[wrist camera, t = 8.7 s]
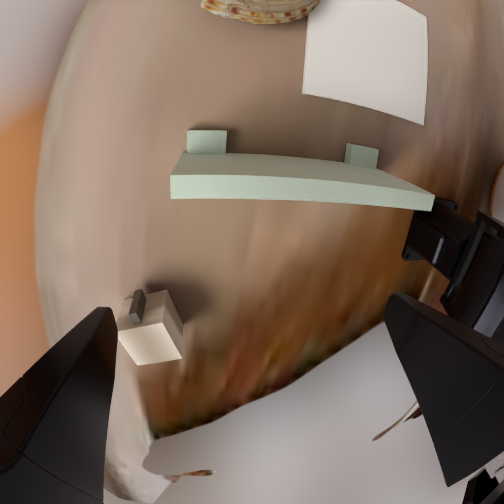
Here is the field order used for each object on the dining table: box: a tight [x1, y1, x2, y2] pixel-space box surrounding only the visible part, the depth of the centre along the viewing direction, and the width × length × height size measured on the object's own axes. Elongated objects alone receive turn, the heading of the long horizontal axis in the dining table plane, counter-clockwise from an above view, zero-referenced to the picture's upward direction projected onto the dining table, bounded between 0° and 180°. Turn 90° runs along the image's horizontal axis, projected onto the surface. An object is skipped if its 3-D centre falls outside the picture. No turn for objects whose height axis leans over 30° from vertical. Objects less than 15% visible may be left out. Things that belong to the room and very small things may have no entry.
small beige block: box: [116, 289, 183, 365], centre depth 20 cm, size 4×5×4 cm
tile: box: [302, 0, 428, 125], centre depth 14 cm, size 11×11×1 cm
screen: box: [170, 130, 435, 211], centre depth 15 cm, size 14×4×7 cm, turn 86°
